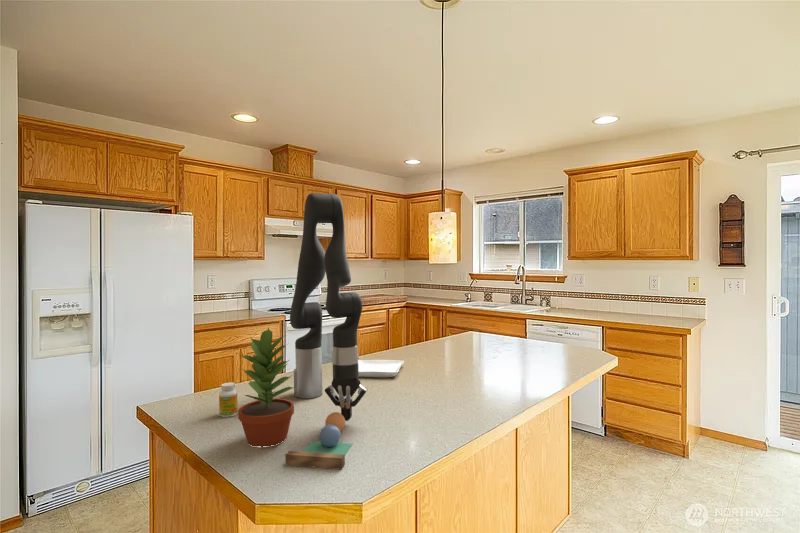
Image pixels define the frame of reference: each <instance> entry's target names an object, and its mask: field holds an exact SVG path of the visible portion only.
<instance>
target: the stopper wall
mask: <svg viewBox="0 0 800 533" xmlns="http://www.w3.org/2000/svg"><path fill="white" fill-rule="evenodd" d="M345 456H346V455H344V454H330V453H315V452H303V451H297V450H288V451H287V452H286V453H285V458H284V460H285V465H286V464H289V465H288V466H294V465H299V466H298V467H307V466H315V467H314V468H320V467H325V468H324V469H333V468H339V469H338V470H343V469H344V467H345V466H344V465H346V462H345V460H346V459H345V458H346V457H345ZM342 468H343V469H342Z"/></svg>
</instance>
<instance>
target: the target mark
mask: <svg viewBox="0 0 800 533" xmlns="http://www.w3.org/2000/svg"><path fill="white" fill-rule="evenodd" d="M352 445H353V443H346V442H344V443H343V442H338V443H337V444H336V445H335V446H333V447H326V446H324V445H322V443H321V442H320V441H315V440H312V441H311V442H310V444H309V445H308V446H307V447H306V448H305V449H304V450H303V451H302V452H315V453H330V454H344V455H345V456H346V455H347V453H348V452H349V451H350V449H351V447H352ZM349 448H350V449H349Z"/></svg>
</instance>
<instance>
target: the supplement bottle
mask: <svg viewBox="0 0 800 533" xmlns="http://www.w3.org/2000/svg"><path fill="white" fill-rule="evenodd" d="M220 386H221V388H220V389H221V391H220V392H219V394H218V405H219V412H218V413H219V416H220V417H221V416H222V417H221V418H230V417H229V416H231V417H233V416H236V415H237V414H238V411H239V407H238V406H239V405H238V402H239V400H238V391H237V389H235V388H236V384H235V382H232V381H231V382H225V383H222V384H221V385H220Z"/></svg>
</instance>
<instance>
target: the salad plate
mask: <svg viewBox="0 0 800 533" xmlns="http://www.w3.org/2000/svg"><path fill="white" fill-rule="evenodd" d="M404 363H405V360H398V359H397V360H394V359H359V360H358V365H359V378H391V377H396V376H397V374H398V373H399V371H400V369H401V367H402V366H403V364H404Z"/></svg>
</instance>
